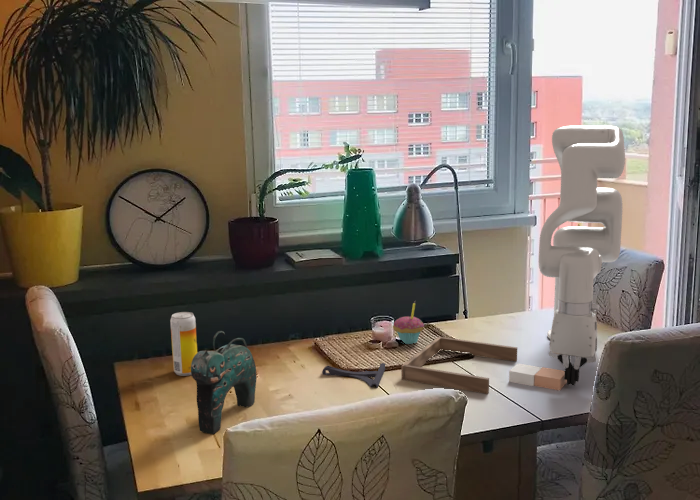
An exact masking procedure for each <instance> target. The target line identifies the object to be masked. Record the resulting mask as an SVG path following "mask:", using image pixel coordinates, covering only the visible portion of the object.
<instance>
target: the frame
mask: <svg viewBox="0 0 700 500" xmlns="http://www.w3.org/2000/svg"><path fill="white" fill-rule="evenodd" d="M440 349H443V350H451V351H460V352H470V353H472V354H473V355H472V356H475V357H481V358H483V357H484V358H489V359H496V360H503V361H509V362H517V361H518V347H516V346H509V345H502V344H495V343H488V342H482V341H481V342H480V341H474V340H465V339H461V338H460V339H458V338H453V337H452V338H451V337H444V336H438V337H436V338H435V339H434V340H433V341H431V342H430V343H428V344H427V345H426V346H425V347H424V348H422V349H421V350H419V351H418V352H417V353H416V354H415V355H413V356H412V357H411V358H409V359H408V360H407V361H406V362H404V363H402V365H401V380H403V381H408V382H413V383H422V384H427V385H432V386H438V387H442V388H443V387H444V388H449V387H450V388H449V389H456V390H461V391H468V392H473V393H479V394H486V395H489V393H490V378H489V377H483V376H478V375H473V374H472V375H471V374H465V373H459V372H454V371H453V372H452V371H447V370H440V369H434V368H427V367H423V366H424V365H426V363H427V362H426V361H427V360H428V359H429V358H431V357H432V356H433V355H434V354H436V353H437V352H438V351H439V350H440ZM437 354H438V353H437ZM437 354H436V355H437ZM431 359H432V358H431Z"/></svg>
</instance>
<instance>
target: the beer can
mask: <svg viewBox="0 0 700 500" xmlns="http://www.w3.org/2000/svg"><path fill="white" fill-rule="evenodd" d="M169 321H170V335H171V336H170V337H171V338H170V339H171V351H172V352H171V353H172V366H173V367H172V369H173V372H174V373H175V375H177V376H180V377H181V376H183V377H185V376H192V375H191V364H192V360H193V358H194V356H195V355H196V354H197V353H198V343H197V341H198V340H197V323H196V317H195V315H194V313H193V312H191V311H190V312H189V311H181V312H179V311H178V312H175V313H173V314H172V315H171V317H170V320H169Z"/></svg>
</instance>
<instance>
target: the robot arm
mask: <svg viewBox="0 0 700 500" xmlns="http://www.w3.org/2000/svg"><path fill="white" fill-rule="evenodd" d="M624 139H625V138H624V133H623V131H622V129H621V128H620V127H619V126H615V125H566V126H561V127H558V128H556V129H554V131H553V132H552V135H551V145H552V150H553V152H554V154H555V158H556V160H557V162H558V164H559V168H560V195H559V198H560V200H559V205H558V207H557V208H556V209H555V210H554V211H553V212H552V213H551V214H550V215H549V216H548V217H547V219H546V220H545V222H544V223H543V225H542V228H541V231H540V234H539V242H538V243H539V244H538V245H539V246H538V268H539V272H540V273H541V274H542V275H543V276H545V277H547V278H554V301H553V302H554V303H553V319H552V322H551V329H549V330H547V333H546V334H547V337H548V339H549V352H548V356H549V357H550V358H554V359H557V360H558V361H559V362H560V363H561V364H562V365H563V368H564V371H565V380H567V383H566V386H567V385H568V386H569V385H570V386H575V385H576V383H577V382H579V380H580V368H581V367H583V366H584V365H585V364H591V363H596V362H597V360H598V357H597V351H598V321H597V316H596V315H597V314H596V313H595V312H594V311H599V308H600V304H597V303H594V299H593V296H594V279H595V278H596V277H597V276H598V274H599V273H601V271H602V266H603V263H614V262H615V261H617V260H618V259H619V256H620V254H621V253H620V252H621V247H622V246H621V244H622V226H623V225H622V224H623V198H622V194H621V192H620V191H619V190H617V189H616V188H613V187H598V179H618V178H620V177H621V176H622V174H623V173H624V171H625V170H624V169H625V164H626V161H625V160H626V151H625V150H626V149H625V140H624ZM567 222H568V223H569V222H570V223H581V224H582V223H583V224H602V225H603V227H602V226H580V225H578V226H575V225H573V226H571V225H570V226H564V227H561V228H559V227H560V226H561V225H563V224H565V223H567ZM553 234H554V235H553ZM552 238H553V240H552ZM552 241H553V242H552ZM552 244H553V245H552ZM571 357H575V361H574V364H573V363H572V358H571Z"/></svg>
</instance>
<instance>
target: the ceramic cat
mask: <svg viewBox="0 0 700 500" xmlns="http://www.w3.org/2000/svg"><path fill="white" fill-rule="evenodd" d="M220 334H221V335H223V337H224V336H225V335H226V333H225V332H224V331H223V330H219V331H217V332H216V333H215V334H214V335H213V338H212V347H213V350H214V351H213V350H200V351H197V354H196V355H195V356H194V358H193V360H192V364H191V375H190V376H191V377H192V379H193V380H194V381H195V382H196V406H197V417H198V428H199V432H200V433H203V434H209V435H215V434H216V433H217V432H219V431H220V430H221V427H222V425H221V423H222V417H223V416H222V414H223V409H224V404H225V401H226V396H227V395H228V393H229V392H230V390H231V389H232V388H233V389H234V393H235V394H234V395H235V398H236V405H237V407H243V408H249V407H252V406H253V405H254V404H255V402H256V401H255V399H256V388H257V387H256V386H257V378H258V377H257V367H256V362H255V359H254V356H253V354H252V352H251V350H250V349H249V348H248V345H247V342H246V340H245V339H244V338H243V337H237V338H233V339H232V340H231V341H230V342H228V344H225V345H223V346H221V347H219V348H218V349H217V350H216V345H215V344H216V343H215V341H216V338H217V336H218V335H220ZM237 341H242V342H243V344H244V345H240V344H234V343H233V342H237Z"/></svg>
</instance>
